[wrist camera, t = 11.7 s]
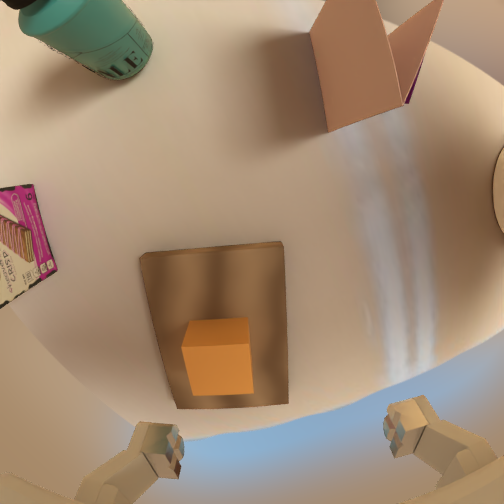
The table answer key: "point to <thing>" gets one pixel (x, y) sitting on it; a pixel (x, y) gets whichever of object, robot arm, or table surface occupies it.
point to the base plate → (221, 313)
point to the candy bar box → (22, 243)
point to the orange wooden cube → (218, 357)
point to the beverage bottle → (88, 33)
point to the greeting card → (367, 58)
